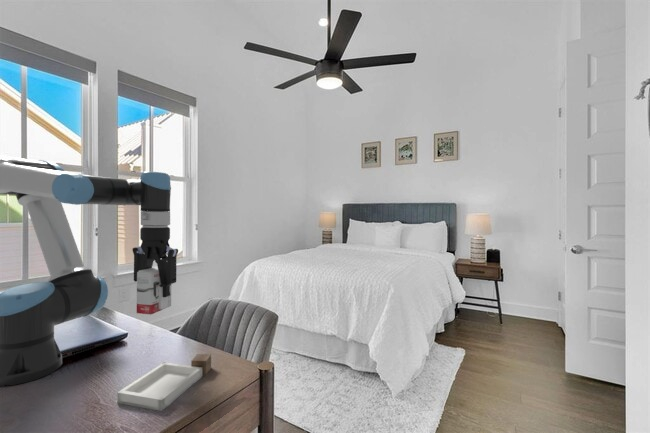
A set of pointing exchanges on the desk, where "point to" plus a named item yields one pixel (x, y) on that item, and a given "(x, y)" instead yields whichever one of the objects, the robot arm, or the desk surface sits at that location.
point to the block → (202, 362)
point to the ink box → (149, 291)
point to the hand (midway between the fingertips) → (154, 306)
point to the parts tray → (160, 386)
